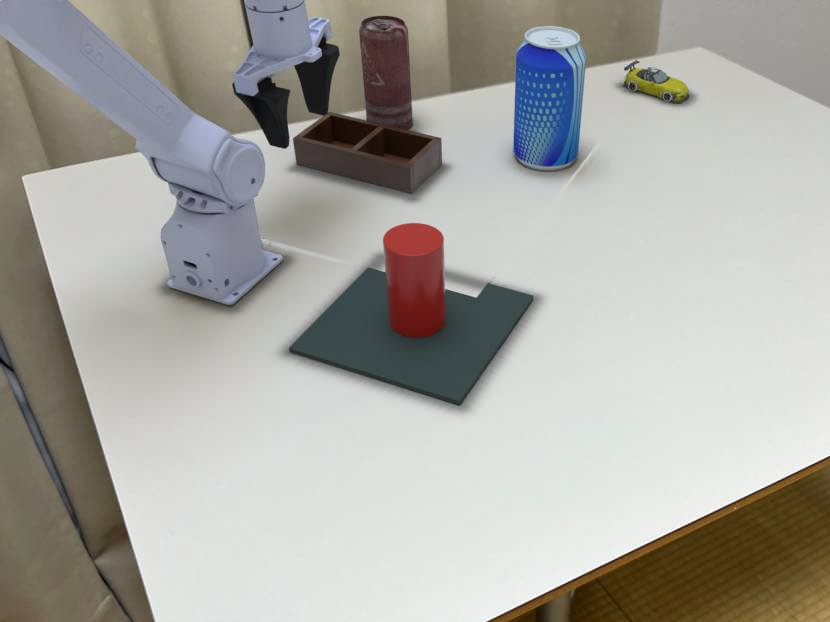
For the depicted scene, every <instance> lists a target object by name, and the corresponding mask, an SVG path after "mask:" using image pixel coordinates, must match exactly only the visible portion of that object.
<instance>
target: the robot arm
mask: <svg viewBox="0 0 830 622" xmlns="http://www.w3.org/2000/svg"><path fill="white" fill-rule="evenodd" d="M243 2H244V7H245V12H246V16H247V17H246V18H247V22H248V26H249V30H250V36H251V39H252V46H251V48H250V49H249V51H248V53H247V54H246V56H245V58H244V60H243V61H242V62H241V64H240V66H239V67H238V68H237V69H236V70H235V71H234V72H232V73H231V76H232V79H233V81H232V84H231V85H232V90H233V94H234V95H235V96H236V97H237V98H238V99H239V100H240V101H241V102H242V103H243V104H244V105H245V107H246V108H247V109H248V110H249V111H250V113H251V114H252V116H253V118H254V119H255V120H256V122H257V124H258V126H259V127H260V129H261V131H262V132H263V134H264V137H265V138H266V140H267V143H268V144H269V146H272V147H276V148H280V149H283V150H285V149H287V148H289V147H290V130H289V122H288V104H289V99H290V95H291V89H288V88H284V87H279V86H277V84H276V82H273V80H272V78H273V77H274V76H275V75H277V74H278V73H280V72H282V71H284V70H287V69H290V68H292V67H293V68H294V69H295V72H296V74H297V77H298V79H299V83H300V86H301V91H302V95H303V99H304V102H305V106H306V108H307V111H308V113H310V114H314V115H318V116H319V115H320V116H322V117H323V116H325V115H326V114H328V112H329V104H330V94H331V86H332V80H333V75H334V71H335V68H336V65H337V63H338V60H339V58H340V56H341V55H340V48H339V46H338V45H336V44H333V43H327V42H329V40H331V39H332V38H333V31H332V25H331V20H330V19H328V18H323V17H319V16H312V17H311V18H309V17H308V11H307V5H306V0H243ZM0 36H1V37H2V38H3V39H5V40H6V41H7V42H8V43H10V44H11V45H13V46H14V47H15V48H17V49H18V50H19V51H20V52H22V53H23V54H24V55H26V56H27V57H28V58H29V59H31V60H32V61H34V63H36V64H37V65H39V66H40V67H41V68H43V69H44V70H45V71H46V72H48V73H49V74H50V75H52V76H53V77H54V78H56V79H57V80H58V81H59V82H60V83H62V84H64V85H65V86H66V87H67V88H69V89H70V90H71V91H72V92H74V93H75V94H77V96H79V97H80V98H81V99H84V101H85V102H87V103H88V104H90V105H91V106H92V107H93V108H95V109H96V110H97V111H98V112H100V113H102V115H104V116H105V117H107V118H108V120H110V121H111V122H113V123H114V124H115V125H117V126H118V127H120V128H121V129H122V130H123V131H125V132H126V133H127V134H129V135H130V136H131V137H133V138H134V139H135V145H134V146H135V147H134V149H135V150H137V151H138V152H139V153H141V155H143V156H144V157H145V159H146V160H147V162H148V165H149V166H150V168H151V171H152V172H153V174H154V175H155V176H156V177H157V178H158V179H159V180H161V181H163V182H165V183H167V185H168V189H169V193H170V194H171V195H172V196H174V197H175V199H176V203H175V208H174V210H173V213H172V215H171V216H170V217H169V219H168V220H167V221H166V222H165V223H164V224H163V226H162V227H161V230H160V241H161V244H162V245H161V246H162V248H163V252H164V255H165V260H166V263H167V266H168V270H169V273H170V278H169V279H168V280H167V281H166V285H167V287H168V288H170V289H174V290H177V291H181V292H184V293H188V294H191V295H194V296H198V297H200V298H203V299H207V300H211V301H213V302H217V303H220V304H224V305H227V306H232V305H234V304H236V303H237V302H238V301H239V300H240V299H241V298H242V297H243V296H244V295H245V294H246V293H249V291H250V290H251V289H252V288H254V286H256V285H257V284H258V283H259V282H260V281H261V280H263V278H265V277H266V276H267V275H268V274H269V273H270V272H271V271H272V270H274V269H275V268H276V267H277V266H278V265H279V264H280V263H282V262H283V261H284V257H283V255H281V254H278V253H275V252H272V251H268V250H266V249H264V247H263V242H262V237H261V232H260V226H259V220H258V215H257V210H256V205H255V198H256V197H257V196H259V193H260V191H261V189H262V187H263V185H264V182H265V176H266V160H265V157H264V154H263V151H262V149H261V148H260V147H259V145H258V144H257V143H256V142H253V141H252V140H249V139H245V138H237V137H235V136H234V135H233V134H231V132H229V131H228V130H227V129H225V128H223V127H221V126H219V125H218V124H215V123H214V122H212V121H210V120H208V119H206V118H204V117H202V116H201V115H199V114H197V113H195V112H194V111H193V110H191V108H190V107H188V106H187V105H186V104H185V103H184V102H183V101H181V99H180V98H178V97H177V96H176V95H175V94H174V93H173V92H171V91H170V90H169V89H168V88H167V87H166V86H165V85H164V84H162V83H161V82H160V81H159V80H158V79H157V78H156V77H155V76H154V75H153V74H152V73H150V72H149V71H148V70H147V69H146V68H145V67H144V66H142V65H141V64H140V63H139V62H138V61H137V60H136V59H134V57H132V55H130V54H129V53H128V52H127V51H126V50H125V49H123V48H122V46H120V45H119V44H118V43H117V42H115V41H114V40H113V39H112V38H111V37H110V36H108V34H106V33H105V32H104V31H103V30H102V29H101V28H100V27H98V26H97V25H96V24H95V23H94V22H93V21H92V20H91V19H90V18H88V16H87V15H85V14H84V13H83V12H82V11H81V10H80V9H79V8H77V7H76V6H75V5H74V4H73V3H72V2H70V0H0Z"/></svg>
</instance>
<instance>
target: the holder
mask: <svg viewBox="0 0 830 622" xmlns="http://www.w3.org/2000/svg"><path fill="white" fill-rule="evenodd" d="M442 140H443V139H442V137H438V136H435V135H431V134H425V133H423V132H417V131H413V130H405V129H401V128H397V127H392V126H388V125H384V124H380V123H375V122H371V121H367V119H362V118H358V117H354V116H349V115H345V114H341V113H337V112H333V111H328V114H326V115H325V116H323V115H322V116H321V117H319V119H317V120H316V121H315V122H313V123H311V124H310V125H309V126H307V127H306V128H304V129H303V130H302V131H300V132H299V133H297V135H295V136H294V137H292V143H293V149H294V156H295V163H296V164H295V165H296V166H299V167H304V168H308V169H311V170H314V171H320V172H322V173H326V174H331V175H335V176H337V177H338V176H339V177H342V178H347V179H351V180H354V181H358V182H362V183H366V184H370V185H374V186H378V187H382V188H386V189H390V190H394V191H398V192H401V193H405V194H410V195H412V194H413V193H414V192H415V191H416V190H417V189H418V188H420V186H421V185H422V184H423V183H425V181H426V180H428V179H429V177H431V176H432V175H433V174H434V173H435V172H437V170H438V169H439V168H440V167H441V166H442V165H443V146H442V145H443V144H442Z"/></svg>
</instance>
